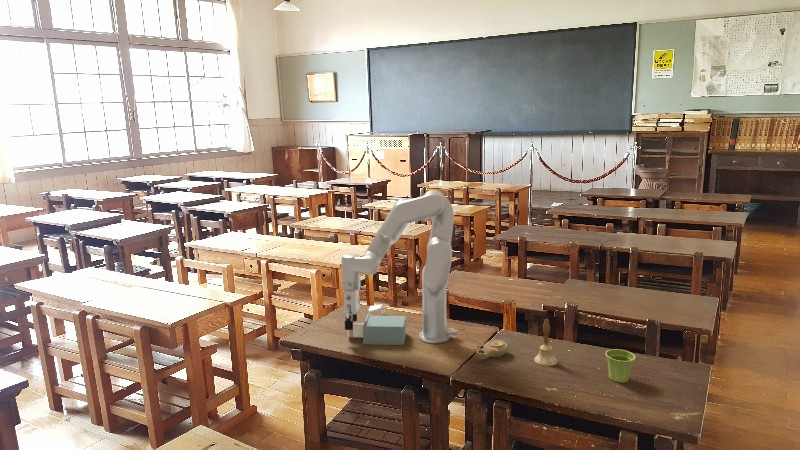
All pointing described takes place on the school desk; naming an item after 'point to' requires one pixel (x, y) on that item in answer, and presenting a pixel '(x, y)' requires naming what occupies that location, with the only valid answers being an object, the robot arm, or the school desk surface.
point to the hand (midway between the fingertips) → (351, 325)
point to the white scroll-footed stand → (375, 308)
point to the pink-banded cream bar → (356, 330)
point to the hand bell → (546, 349)
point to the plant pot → (619, 364)
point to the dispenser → (384, 330)
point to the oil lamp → (492, 349)
